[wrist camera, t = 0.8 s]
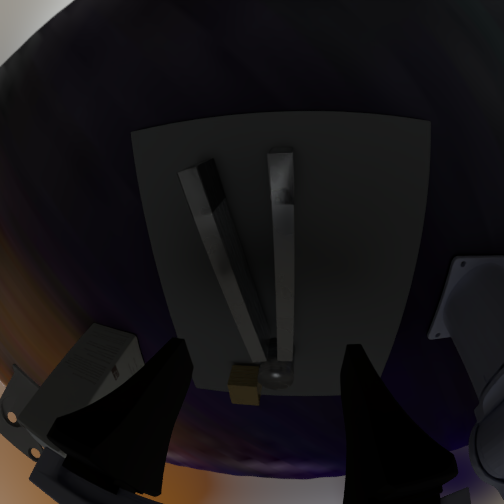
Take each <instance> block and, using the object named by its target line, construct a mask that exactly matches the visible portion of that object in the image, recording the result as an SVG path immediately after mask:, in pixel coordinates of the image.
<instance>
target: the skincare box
mask: <svg viewBox="0 0 504 504" xmlns="http://www.w3.org/2000/svg"><path fill="white" fill-rule="evenodd" d="M144 365H145V364H144V362H143V359H142V355H141V352H140V349H139V345H138V340H137V337H136V336H135V335H134V334H130V333H127V332H123V331H120V330H116V329H113V328H110V327H107V326H103V325H100V324H97V323H93V324H92V325H91V327H90V328H89V329H88V330H87V331H86V332H85V333H84V335H83V336H82V337H81V338H80V339H79V340H78V341H77V343H76V344H75V345H74V346H73V347H72V348H71V350H70V351H69V352H68V353H67V354H66V356H65V357H64V358H63V359H62V360H61V362H60V363H59V364H58V365H57V367H56V368H55V369H54V370H53V371H52V373H51V374H50V375H49V376H48V378H47V379H46V380H45V382H44V383H43V384H42V386H41V387H40V388H39V389H38V391H37V392H36V393H35V395H34V396H33V397H32V399H31V400H30V401H29V403H28V404H27V405H26V407H25V408H24V409H23V411H22V412H21V413H20V415H19V416H18V418H17V421H18V422H19V423H20V424H21V426H22V427H23V428H24V429H25V430H26V431H27V432H28V433H29V434H30V435H31V436H32V437H33V438H34V439H35V440H36V441H37V442H38V443H39V444H40V445H42V446H43V447H44V448H45V447H48V448H50V449H51V450H53V451H54V452H56V453H58V454H59V455H61V456H62V457H64V458H66V456H67V454H65V453H64V452H63V451H61V450H60V449H59V448H58V447H56V446H55V445H54V444H53V443H52V442H51V441H49V440H48V438H47V436H46V435H47V434H48V432H49V430H50V428H51V427H52V425H53V423H54V422H55V420H56V418H57V417H61V416H64V415H66V414H69V413H72V412H75V411H77V410H79V409H82V408H84V407H86V406H88V405H90V404H92V403H94V402H96V401H97V400H99V399H101V398H102V397H104V396H106V395H107V394H109V393H111V392H112V391H114V390H115V389H116V388H118V387H119V386H121V385H122V384H123V383H124V382H126V381H127V380H128V379H129V378H130V377H132V376H133V375H134V374H135V373H136V372H137V371H139V370H140V369H141V368H142V367H143V366H144Z"/></svg>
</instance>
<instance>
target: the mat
mask: <svg viewBox="0 0 504 504" xmlns="http://www.w3.org/2000/svg"><path fill="white" fill-rule="evenodd" d="M131 139H132V146H133V153H134V160H135V166H136V172H137V178H138V184H139V190H140V195H141V200H142V205H143V210H144V215H145V220H146V224H147V229H148V233H149V238H150V242H151V246H152V250H153V254H154V258H155V262H156V266H157V270H158V273H159V277H160V281H161V284H162V288H163V291H164V295H165V298H166V302H167V305H168V308H169V312H170V315H171V318H172V321H173V324H174V327H175V330H176V333H177V336H178V338H181V339H185V342H186V345H187V348H188V351H189V354H190V357H191V360H192V363H193V366H194V368H193V373H192V378H193V381H194V383H195V386H196V388H202V389H210V390H218V391H227V392H229V390H228V386H227V384H228V380H229V376H230V372H231V368H232V365H241V366H257V367H259V366H260V362H252V360H251V357H250V355H249V353H248V350H247V348H246V346H245V344H244V341H243V339H242V337H241V334H240V332H239V330H238V327H237V325H236V323H235V320H234V318H233V316H232V313H231V311H230V308H229V306H228V304H227V301H226V299H225V296H224V294H223V292H222V289H221V287H220V284H219V282H218V279H217V277H216V274H215V272H214V269H213V267H212V264H211V262H210V259H209V256H208V254H207V251H206V249H205V246H204V244H203V241H202V238H201V236H200V233H199V230H198V228H197V225H196V222H195V220H194V218H193V217H192V214H191V212H190V209H189V206H188V203H187V201H186V198H185V195H184V192H183V190H182V187H181V184H180V181H179V178H178V175H177V173H178V172H180V171H182V170H184V169H186V168H188V167H190V166H192V165H194V164H196V163H199V162H202V161H205V160H208V159H211V158H213V159H214V162H215V165H216V168H217V171H218V174H219V177H220V180H221V183H222V187H223V190H224V193H225V196H226V197H225V198H226V201H227V204H228V207H229V210H230V214H231V217H232V220H233V223H234V226H235V229H236V232H237V235H238V238H239V241H240V244H241V247H242V250H243V253H244V256H245V259H246V262H247V265H248V268H249V271H250V274H251V277H252V280H253V282H254V285H255V288H256V291H257V294H258V297H259V300H260V303H261V306H262V309H263V312H264V315H265V318H266V321H267V324H268V327H269V330H270V333H271V335H270V339H271V338H277V320H276V289H275V262H274V239H273V219H272V205H271V201H270V184H269V168H268V153H269V151H270V150H271V149H272V147H293V166H294V202H295V205H294V237H295V293H294V337H293V344H294V346H295V362H294V381H293V384H292V385H291V386H290V387H288V388H286V389H281V390H272V389H268V388H265V387H263V386H262V390H261V394H263V395H286V396H326V395H341V387H340V372H341V367H342V363H343V359H344V355H345V350H346V346H347V344H361V345H362V346H363V348H364V350H365V352H366V354H367V356H368V358H369V360H370V361H371V363H372V365H373V367H374V368H375V370H376V372H377V373H378V375H379V376H380V377H381V374H382V372H383V369H384V367H385V364H386V362H387V359H388V356H389V354H390V351H391V348H392V346H393V343H394V340H395V337H396V334H397V331H398V328H399V325H400V322H401V319H402V315H403V312H404V309H405V305H406V302H407V298H408V294H409V290H410V287H411V283H412V279H413V274H414V270H415V266H416V261H417V256H418V251H419V246H420V241H421V235H422V229H423V223H424V216H425V209H426V201H427V192H428V182H429V168H430V148H431V121H425V120H419V119H412V118H405V117H398V116H389V115H380V114H369V113H355V112H334V111H285V112H263V113H249V114H238V115H228V116H219V117H211V118H203V119H196V120H190V121H184V122H178V123H172V124H167V125H162V126H157V127H152V128H147V129H143V130H138V131H134V132H131Z"/></svg>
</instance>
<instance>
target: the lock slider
mask: <svg viewBox="0 0 504 504" xmlns="http://www.w3.org/2000/svg"><path fill="white" fill-rule="evenodd" d="M258 372H259V367H257V366H241V365H232V368H231V372H230V376H229V380H228V384H227V386H228V390H229V393H230V397H231V401H232V403H235V404H246V405H259V402H260V396H261V390H262V385H260V383H259V382H258V380H257V378H258Z"/></svg>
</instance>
